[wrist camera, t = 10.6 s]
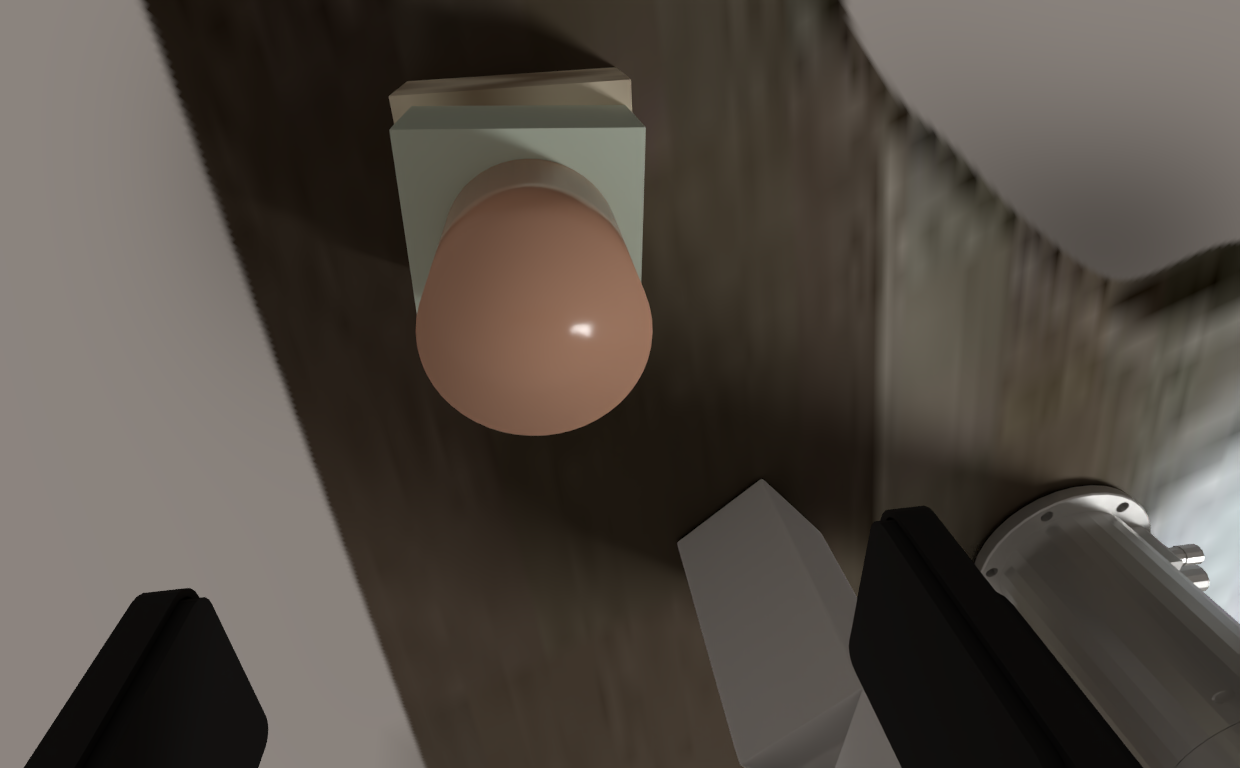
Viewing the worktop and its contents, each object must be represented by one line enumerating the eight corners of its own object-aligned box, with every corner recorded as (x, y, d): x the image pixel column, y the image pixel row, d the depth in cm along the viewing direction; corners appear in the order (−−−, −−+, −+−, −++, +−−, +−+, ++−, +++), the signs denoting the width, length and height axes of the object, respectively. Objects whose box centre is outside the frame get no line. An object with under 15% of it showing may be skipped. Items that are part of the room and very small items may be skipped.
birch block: (615, 66, 30) (630, 79, 26) (624, 260, 35) (639, 299, 30) (407, 80, 29) (388, 96, 25) (445, 277, 34) (434, 319, 30)
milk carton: (760, 475, 42) (909, 778, 26) (821, 532, 46) (989, 833, 29) (675, 540, 44) (764, 860, 28) (739, 590, 47) (854, 905, 31)
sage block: (625, 104, 26) (645, 127, 22) (622, 298, 30) (639, 349, 26) (411, 106, 25) (389, 129, 21) (437, 305, 29) (423, 359, 25)
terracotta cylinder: (619, 155, 22) (655, 219, 16) (619, 322, 25) (650, 427, 19) (431, 161, 22) (396, 229, 16) (455, 332, 25) (434, 443, 19)
